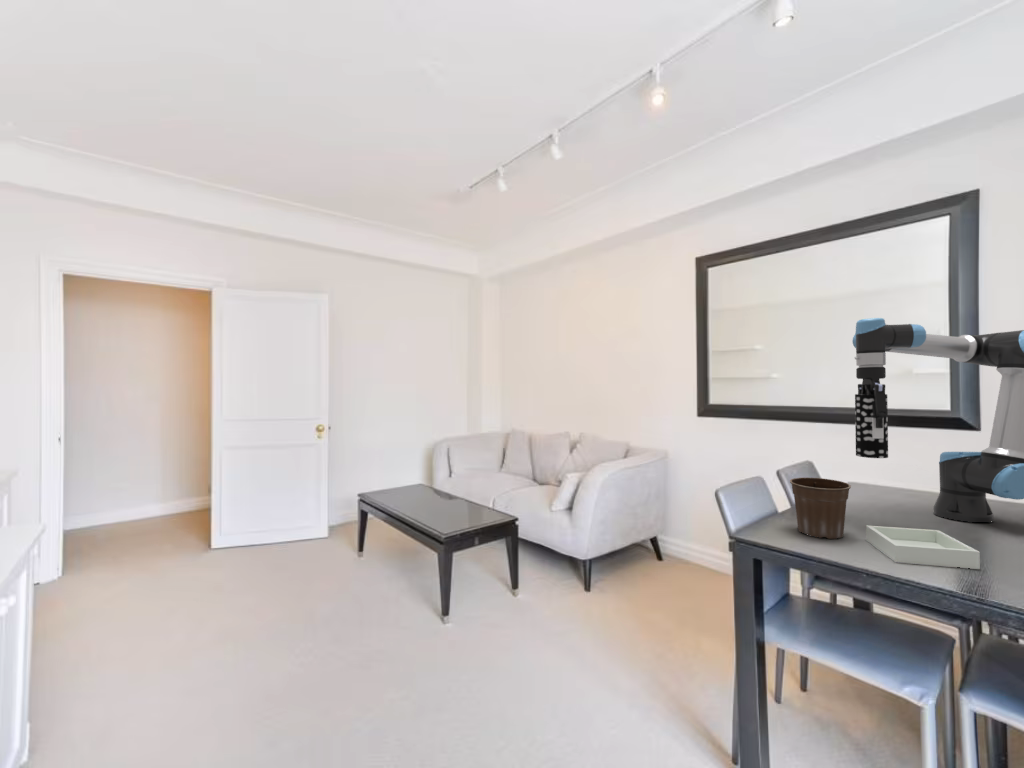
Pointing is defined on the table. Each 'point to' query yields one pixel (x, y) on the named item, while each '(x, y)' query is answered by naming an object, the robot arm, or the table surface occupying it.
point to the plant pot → (820, 506)
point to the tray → (922, 547)
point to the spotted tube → (869, 429)
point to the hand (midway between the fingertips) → (871, 436)
